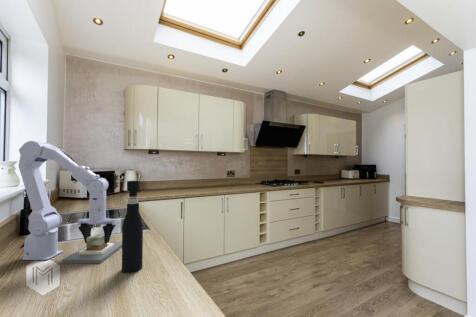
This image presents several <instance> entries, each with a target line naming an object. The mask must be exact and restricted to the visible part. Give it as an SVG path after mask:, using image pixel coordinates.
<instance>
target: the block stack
mask: <svg viewBox="0 0 476 317" xmlns="http://www.w3.org/2000/svg"><path fill="white" fill-rule="evenodd" d="M105 247H107V243H105V242H104V233H94V234H91V236H90V237H88V238H87V243H86V251H101V250H102V249H104V248H105Z"/></svg>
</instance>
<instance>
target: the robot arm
mask: <svg viewBox="0 0 476 317" xmlns="http://www.w3.org/2000/svg"><path fill="white" fill-rule="evenodd" d="M18 152H19V154H20V157H19V161H18V169H19V173H20V176H21V179H22V182H23V185H24V188H25V193H26V195H27V197H28V202H29V204H30V207H31V210H32V212H30V214H29V216H28V217H27V218H28V226H27V230H28V231H29V233H30V234H28V235H27V236H26V237H25V240H24V242H23V244H24V245H23V246H24V247H23V257H22V258H21V260H22V261H48V260H49V259H52V258H54V257H56V256H57V255H60V254H61V253H63V252H64V250H62V249H61V250H60V249H59V250H58V247H59V246H58V245H59V243H58V240H59V239H58V238H59V235H58V234H59V227H60V225H62V223H63V218H62V216H61V215H60V213H58V211H57V210H58V209H57V208H55V207H54V206H53V205H52V204H51V201H50V199H49V195H48V192H47V190H46V186H45V182H44V180H43V177H42V173H41V170H40V167H41V166H42V165H43V164H44V163H45V162H47V161H48V160H51V161H54V162H56V163H58V164H59V165H60V166H62V167H63V168H65V169H67V170H68V171H69V172H70V173H71V177H72V178H73V179H75V180H76V181H77V182H79V183H80V184H82V185H83V186H84V187H85V189H86V190H87V192H88V193H89V202H88V203H89V205H88V207H89V211H88V216H89V217H88V218H79V219H78V220H77V225H79V226H78V230H79V232H80V233H81V234H82V236H83V241H84V244H87V238H88V237H90V236H92V234H91V233H92V228H93V225H103V226H102V229H103V234H104V242H105V243H108V242H110V240H111V237H112V233H113V230H115V227H116V225H117V224H118V218H109V217H107V190H108V188H109V181H108V180H107V179H106V177H101V176H100V174H96V173H94V172H93V171H92V170H90V169H91V168H90V167H89V166H85V165H78V164H77V163H76V162H75V161H73V160H72V158H70V157H69V156H68V155H67V154H65V153H64V152H63V151H62V150H60V148H59V147H57V146H55V145H54V144H52V143H51V142H40V141H35V140H29V141H26V142H24V143H23V144H22V145H21V147H20V148H19V149H18Z"/></svg>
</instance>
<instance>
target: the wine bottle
mask: <svg viewBox="0 0 476 317" xmlns="http://www.w3.org/2000/svg"><path fill="white" fill-rule="evenodd" d="M126 191H127V192H128V198H127V204H126V214H125V215H124V216H125V217H124V219H123V221H122V222H123V223H122V227H121V233H122V234H121V242H122V248H121V271H122V273H124V274H131V273H132V274H133V273H136V272H139V271H140V270H142V268H143V254H144V253H143V250H144V249H143V248H144V246H143V244H144V242H143V240H144V223H143V219H142V216H141V213H140V203H139V197H138V191H140V180H127V182H126Z"/></svg>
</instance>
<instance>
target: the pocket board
mask: <svg viewBox="0 0 476 317" xmlns="http://www.w3.org/2000/svg"><path fill="white" fill-rule="evenodd" d="M119 250H122V241H109V242H108V243H107V247H105V248H104V249H102V250H101V251H86V246H84V247H82V248H79V249H78V250H77V251H75V252H74V253H72V254H70V255H68V256H66V257H64V258H63V259H61V264H102V263H103V262H105V261H106V260H107V259H108V258H110V257H111V256H113V255H114V254H116V253H117V252H118V251H119Z"/></svg>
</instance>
